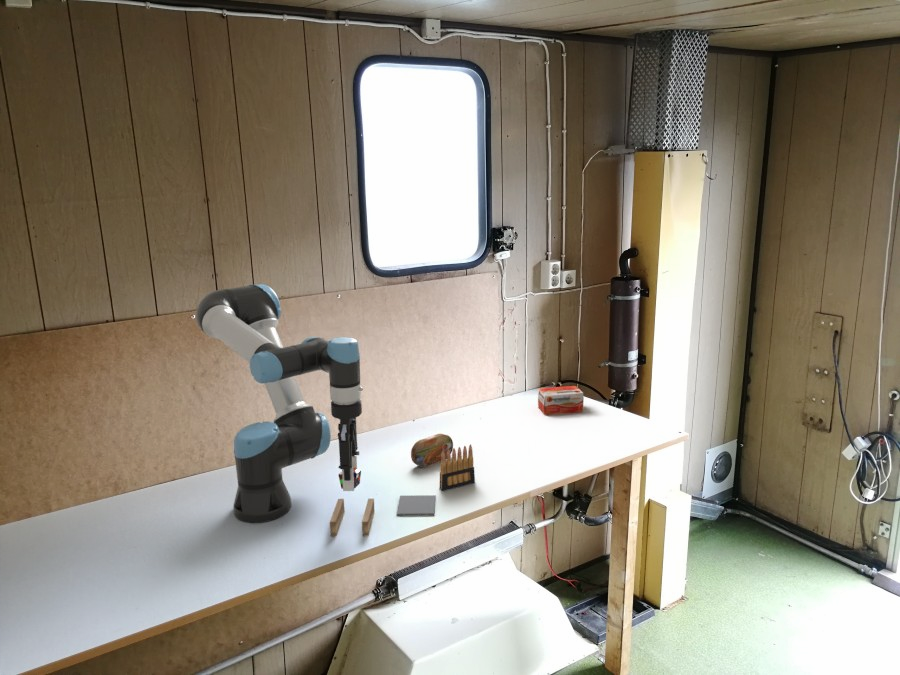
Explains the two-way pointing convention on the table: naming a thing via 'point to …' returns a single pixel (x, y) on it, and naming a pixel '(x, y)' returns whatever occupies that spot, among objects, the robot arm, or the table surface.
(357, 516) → the table surface
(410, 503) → the rubber pad
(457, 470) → the ammunition clip
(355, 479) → the rubik's cube
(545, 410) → the medicine box
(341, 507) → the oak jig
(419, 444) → the tin
